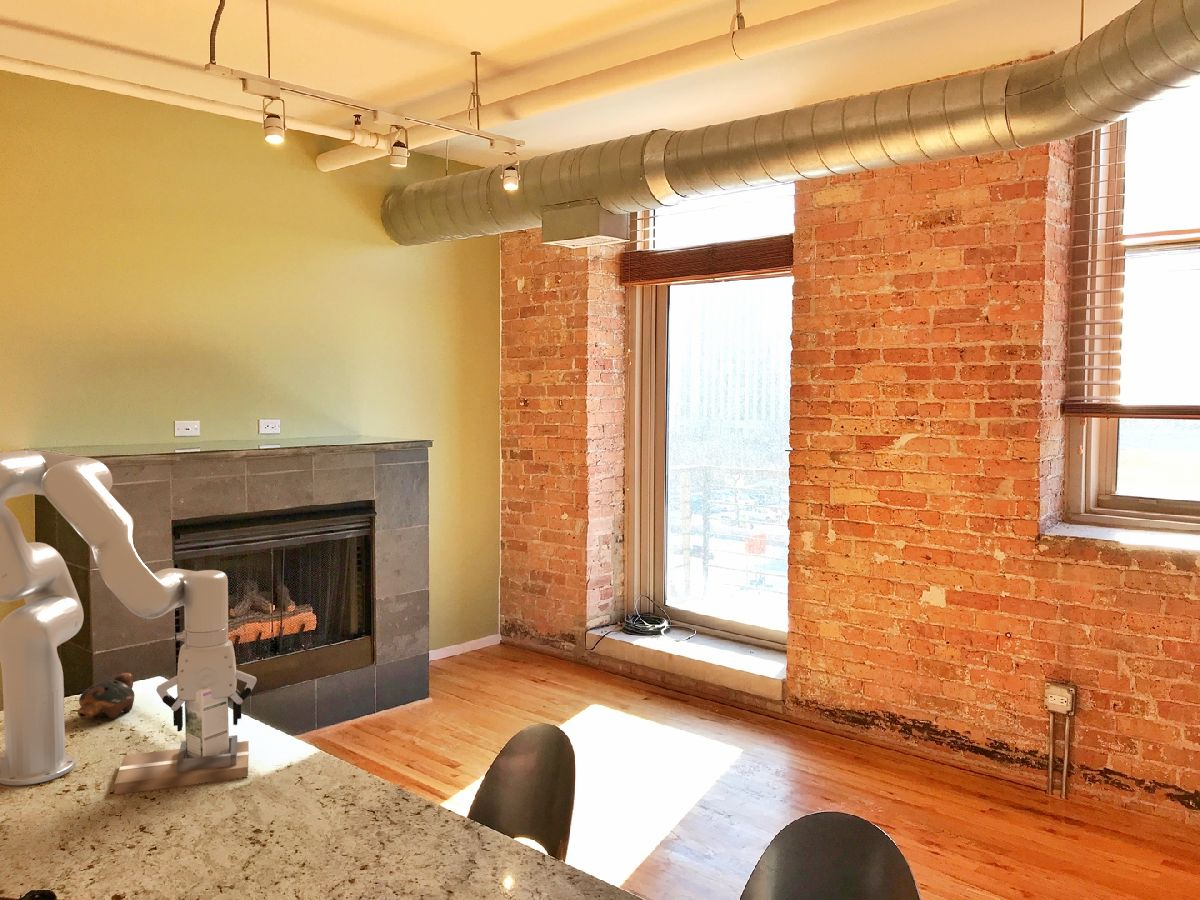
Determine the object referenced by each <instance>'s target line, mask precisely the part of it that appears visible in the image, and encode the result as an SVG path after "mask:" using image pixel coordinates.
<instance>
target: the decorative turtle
mask: <svg viewBox="0 0 1200 900" xmlns="http://www.w3.org/2000/svg"><path fill="white" fill-rule="evenodd" d="M133 687H134V677H133V675H132V673H130V672H121V673H120V674H118V675H116V677H115V678H114V679H105V680H102V681H99V682H96V683H95V684H92V685H91V686H89V687H88V688H87V689H86V690H85V691H83V692H82V693H81V695H80V697H79V699H78V704H79V706H80V708H78V710H77V716H78V717H79V718H80V719H81V720H84V721H86V720H90V719H92V718H93V717H94V718H96V717H98V716H99V715H100V714H101V713H105V714H106V715H107V717H109V718H110V719H111V720H115V719H116V718H117V717H119V716H120V714H121V713H122V712H124V713H129V712H130V711H131V710H133V707H134V702H135V691H134V689H133ZM94 718H93V719H94Z"/></svg>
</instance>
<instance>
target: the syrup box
mask: <svg viewBox="0 0 1200 900" xmlns="http://www.w3.org/2000/svg"><path fill="white" fill-rule="evenodd" d="M184 721H185V722H184V723H185V724H184V725H185V726H184V727H185V728H184V729H185V741H186V759H187V758H196V757H204V756H212V755H221V754H229V736H230V734H229V733H230V732H229V728H230V727H229V697H226V698H218V699H213V698H212V696H211V689H210V687H209V688H204V689H200V690H198V691H196V700H195V701H184Z"/></svg>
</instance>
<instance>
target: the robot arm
mask: <svg viewBox="0 0 1200 900" xmlns="http://www.w3.org/2000/svg"><path fill="white" fill-rule="evenodd" d="M113 481H114V480H113V475H112V473H111V471H110V469H109V468H108V467H107V466H106V465H105V464H104V463H103V462H101V461H99V460H98V459H94V458H91V457H87V456H85V457H84V456H77V455H71V454H63V453H55V452H49V451H41V450H35V449H31V450H30V449H23V450H14V451H5V452H4V451H3V452H0V602H3V603H10V602H15V601H20V600H22V599H23V600H24V603H25V604H24V605H23V606H20V607H18V608H16V609H14V610H13V611H11V612H9V613H8V614H7V615H6V616H5V617H3V619H2V620H1V622H0V669H1V677H2V697H3V698H2V699H3V727H4V730H3V731H4V733H3V734H4V750H2V751H0V784H2V785H5V786H26V785H27V786H28V785H34V784H39V783H44V782H48V781H52V780H55V779H58V778H60V777H63V776H64V775H66V774H68V773H69V772H71V771H72V770H73V769H74V767H75V765H76V758H75V757H74V756H73V755H72V754H69V753H66V725H65V724H66V723H65V721H66V720H65V688H64V672H63V666H62V663H61V660H60V657H59V653H58V649H57V648H58V647H59V646H60V645H62V644H63V643H66V642H68V641H69V640H71V638H73V637H74V636H76V635H77V634H78V633H79V632H80V630H81V629H82V626H83V623H84V619H85V618H84V617H85V615H84V607H83V605H82V602H81V599H80V597H79V595H78V591H77V589H76V587H75V584H74V582H73V580H72V577H71V574H70V571H69V569H68V567H67V564H66V561H65V560H64V559H65V558H63V557H62V555H61V553H60V552H58V550H56V548H54V547H53V546H51V545H49V544H47V543H45V542H38V541H37V542H36V541H35V542H33V541H32V542H28V541H27V539H26V537H25V535H24V532H23V530H22V527H21V524H20V522H19V520H18V519H17V517H16V516H15V515H14V513H13V512H12V511H11V510H10V509H9V508H8V507H7V505H6V501H8V500H9V499H12V498H18V497H22V496H27V495H37V496H38V495H39V496H44V497H45V498H46V499H47V501H49V503H50V504H51V505H52V506H53V507H54V509H56V510H57V512H58V513H59V514H60V515H61V516H62V517H63V518H64V519H65V521H66V522H67V523H68V524H69V525H70V526H71V527H72V528H73V529H74V530H75V532H77V534H78V535H79V536H80V537H81V538H82V539H83V540H84V541H85V542H86V544H87V545H88V546H89V547H90V549H91V550H92V555H93V559H94V562H95V564H96V567H97V569H98V573H99V574H100V576H101V578H102V580H103V582H104V583H105V585H106V586H107V588H108V589H109V590H110V591H111V593H113V594H114V595H115V597H116V598H117V599H118V600H119V601H120V602H121V603H122V604H123V606H125V607H126V609H128V610H129V611H130V612H131V613H133V614H134V615H136V616H138V617H140V618H142V619H147V620H150V619H151V620H153V619H157V618H160V617H162V616H164V615H166V614H168V613H169V612H171V611H172V610H175V609H178V608H180V607H183V606H184V609H183V610H184V629H183V631H181V632H176V634H175V635H176V636H175V639H176V641H182V642H183V644H182V645H181V646H180V648H179V654H178V660H177V661H178V662H177V673H176V674H177V675H175V676H174V677H172V678H170V679H168V680H166V681H164V682H163V683H161V684H159V685H157V687H156V693H157V694H158V696H159V697H160V698H161V700H162V702H163V703H164V704H165V705H166V706H167V707H169V708H170V709H171V710H172V711H173V715H172V716H173V727H177V730H176V731H177V732H181V731H183V727H184V726H183V725H184V717H183V716H184V715H183V714H184V713H183V711H184V710H183V709H184V708H183V707H184V706H183V704H185V701H195V700H196V691H198V690H200V689H204V688H209V687H210V689H211V696H212V698H213V699H218V698H226V697H228V698H230V699H231V700H232V701H233V702H232V725H233V726H238V721H239V720H241V719H242V703H243V702H244V701H245V699H247V698H248V696H249V695H250V694H252V691H253V689H254V687H255V685H256V683H257V677H256V676H254V675H251V674H248V673H246V672H244V671H241V670H238V669H237V663H236V662H237V661H236V656H235V655H236V654H235V653H236V652H235V649H234V644H233V641H232V640H230V639H229V586H228V585H229V580H228V575H227V574H226V573H225V572H224V571H222V570H216V569H204V570H203V569H202V570H198V571H197V570H190V569H182V568H175V567H168V568H164V569H160V570H157V571H156V572H154V573H153V572H152V571H151V570H150V568H148V567H147V565H145V563H144V562H143V561H142V559H141V558H140V556H139V555H138V553H137V551H136V548H135V547H134V542H133V531H134V518H133V517H132V516H131V514H130V513H128V511H127V510H126V509H125V508H124V507H123V506H122V505H121V504H120V502H119V501H117V499H116V498H115V497H114V496H113V495H112V494H111V492H110V491H111V489H112V487H113ZM238 680H239V681H242V682H244V683H246V686H245V687H244V688H243V689H242V690H241V691H239V690H238V688H237V684H238V683H237V682H238ZM175 686H177V687H176V691H177V697H173V696H172V695H171V694H169V692H168V690H169V689H172V688H173V687H175Z"/></svg>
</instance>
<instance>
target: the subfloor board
mask: <svg viewBox="0 0 1200 900" xmlns="http://www.w3.org/2000/svg"><path fill="white" fill-rule="evenodd" d="M248 752H249V740H246V741H238V735H229V754H221V755H212V756H204V757H196V758H187V759H186V740H184V741H183V740H182V741H181V742H180V747H179V748H176V749H175V748H174V749H168V750H158V751H157V750H156V751H149V752H141V753H131V754H124V756H123V759H122V761H121V765H120V766H119V769H118V772H117V775H116V777H115V778H116V779H115V780H114V787H113V788H114V795H122V794H128V793H137V792H144V791H152V790H160V789H166V788H167V789H169V788H177V787H184V786H191V785H193V786H194V785H199V783H200V784H206V783H205V782H208V783H213V782H212V781H216V782H221V781H222V780H224V781H228V779H231V780H237V779H236V778H239V779H242V778H241V777H247V776H248V777H249V754H248ZM248 777H247V778H248ZM222 782H223V781H222Z"/></svg>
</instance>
